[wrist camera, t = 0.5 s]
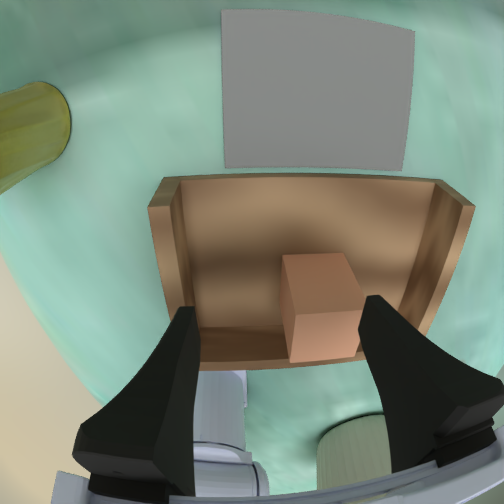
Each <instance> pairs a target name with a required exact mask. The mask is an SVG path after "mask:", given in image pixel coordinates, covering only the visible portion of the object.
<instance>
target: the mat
mask: <svg viewBox="0 0 504 504" xmlns="http://www.w3.org/2000/svg"><path fill="white" fill-rule="evenodd" d="M221 29H222V87H223V124H224V154H225V168H252V167H319V168H352V169H373V170H389V171H402V166H403V160H404V153H405V146H406V139H407V131H408V123H409V115H410V105H411V95H412V82H413V67H414V44H415V31H412V30H408V29H404V28H400V27H396V26H392V25H388V24H383V23H379V22H374V21H369V20H363V19H358V18H352V17H346V16H339V15H332V14H324V13H315V12H305V11H292V10H273V9H226V10H221Z"/></svg>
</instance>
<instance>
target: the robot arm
mask: <svg viewBox="0 0 504 504" xmlns="http://www.w3.org/2000/svg"><path fill="white" fill-rule="evenodd" d="M358 333H359V337H360V341H361V345H362V349H363V352H364V355H365V357H366V360H367V363H368V365H369V368H370V370H371V373H372V376H373V378H374V381H375V384H376V386H377V389H378V392H379V395H380V399H381V403H382V407H383V412H384V416H385V422H386V427H387V433H388V440H389V447H390V458H391V473H392V474H389V475H386V476H382V477H378V478H374V479H370V480H366V481H362V482H357V483H353V484H348V485H343V486H338V487H332V488H327V489H321V490H314V491H307V492H299V493H291V494H281V495H269V481H268V477H267V474H266V471H265V470H264V468H263V467H262V466H261V465H260V463H258V462H256V461H253V462H252V453H251V452H246V442H245V421H244V408H246V407H247V378H246V370H238V371H199V367H200V353H201V338H200V333H199V328H198V323H197V317H196V312H195V306H180V307H179V308H178V309H177V311H176V313H175V315H174V317H173V319H172V321H171V323H170V325H169V326H168V328H167V330H166V332H165V333H164V335H163V337H162V338H161V340H160V342H159V343H158V345H157V346H156V348H155V349H154V351H153V352H152V354H151V355H150V357H149V358H148V360H147V361H146V362H145V364H144V365H143V366H142V368H141V369H140V370H139V371H138V373H137V374H136V375H135V376H134V377H133V379H132V380H131V381H130V382H129V383H128V384H127V385H126V386H125V387H124V388H123V389H122V390H121V392H120V393H119V394H117V395H116V396H115V397H114V398H113V399H112V400H111V401H110V402H109V403H108V404H106V405H105V406H104V407H103V408H102V409H101V410H100V411H98V412H97V413H96V414H94V415H93V416H92V417H90V418H89V419H88V420H86V421H85V422H84V423H82V424H81V425H80V428H79V430H78V433H77V436H76V439H75V443H74V448H73V452H72V455H73V458H74V459H75V460H76V461H77V462H78V463H79V464H80V465H81V466H83V467H84V468H85V469H86V470H88V471H89V472H91V475H90V480H89V479H88V478H85V477H82V476H78V475H74V474H70V473H66V472H62V471H57V475H56V479H55V484H54V489H53V494H52V500H51V504H344V503H349V502H353V501H358V500H362V499H366V498H370V497H374V496H378V495H382V494H385V493H387V494H386V496H385V497H382V498H378V499H374V500H370V501H366V502H362V503H358V504H463V503H465V502H467V501H469V500H471V499H473V498H475V497H476V496H478V495H480V494H482V493H484V492H486V491H488V490H489V489H491V488H493V487H494V486H496V485H498V484H500V483H501V482H503V481H504V425H503V426H501V427H499V428H497V429H496V430H494V431H493V429H492V426H493V425H494V421H493V418H492V417H493V416H494V415H495V414H496V413H497V412H498V410H499V409H500V408H501V407H502V406H503V405H504V385H503V383H502V381H501V380H500V379H498V378H495V377H493V376H490V375H488V374H485V373H483V372H481V371H478V370H476V369H474V368H472V367H470V366H468V365H467V364H465V363H463V362H461V361H459V360H458V359H456V358H454V357H453V356H451V355H450V354H448V353H447V352H445V351H444V350H442V349H441V348H440V347H438V346H437V345H435V344H434V343H433V342H431V341H430V340H429V339H428V338H426V337H425V336H424V335H423V334H422V333H420V332H419V331H418V330H417V329H416V328H415V327H414V326H412V325H411V324H410V323H409V322H408V321H407V320H406V319H405V318H404V317H403V316H402V315H401V314H400V313H399V312H398V311H396V310H395V309H394V308H393V307H392V306H391V305H390V304H389V303H388V302H387V301H386V300H385V299H384V298H383V297H382V296H380V295H369V296H367V297H366V300H365V304H364V308H363V312H362V315H361V319H360V322H359V326H358ZM389 492H390V493H389Z"/></svg>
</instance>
